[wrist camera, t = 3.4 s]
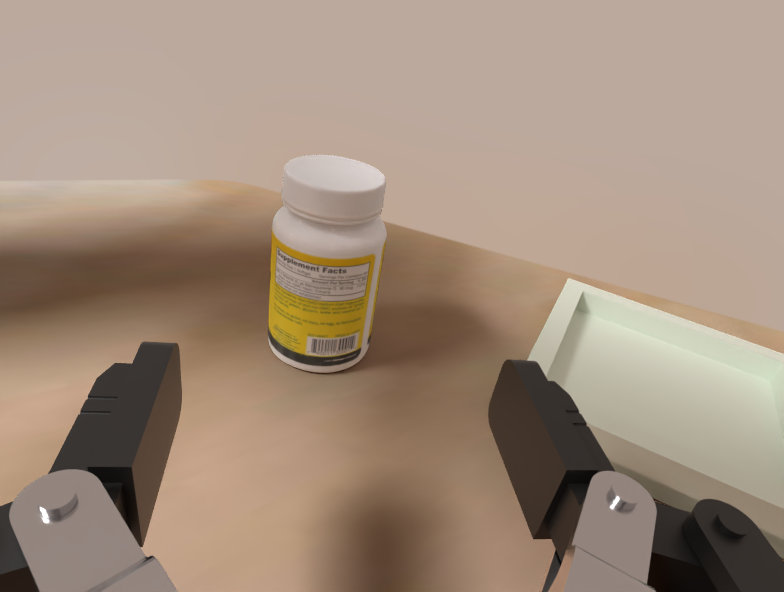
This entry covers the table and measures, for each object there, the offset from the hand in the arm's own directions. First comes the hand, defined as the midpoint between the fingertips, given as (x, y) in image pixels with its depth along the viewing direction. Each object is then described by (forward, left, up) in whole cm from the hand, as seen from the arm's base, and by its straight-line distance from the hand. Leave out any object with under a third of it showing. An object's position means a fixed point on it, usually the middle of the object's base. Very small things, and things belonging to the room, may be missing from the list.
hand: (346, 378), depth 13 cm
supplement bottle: (-6, +8, -7) cm, 12 cm away
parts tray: (+9, +14, -7) cm, 18 cm away
